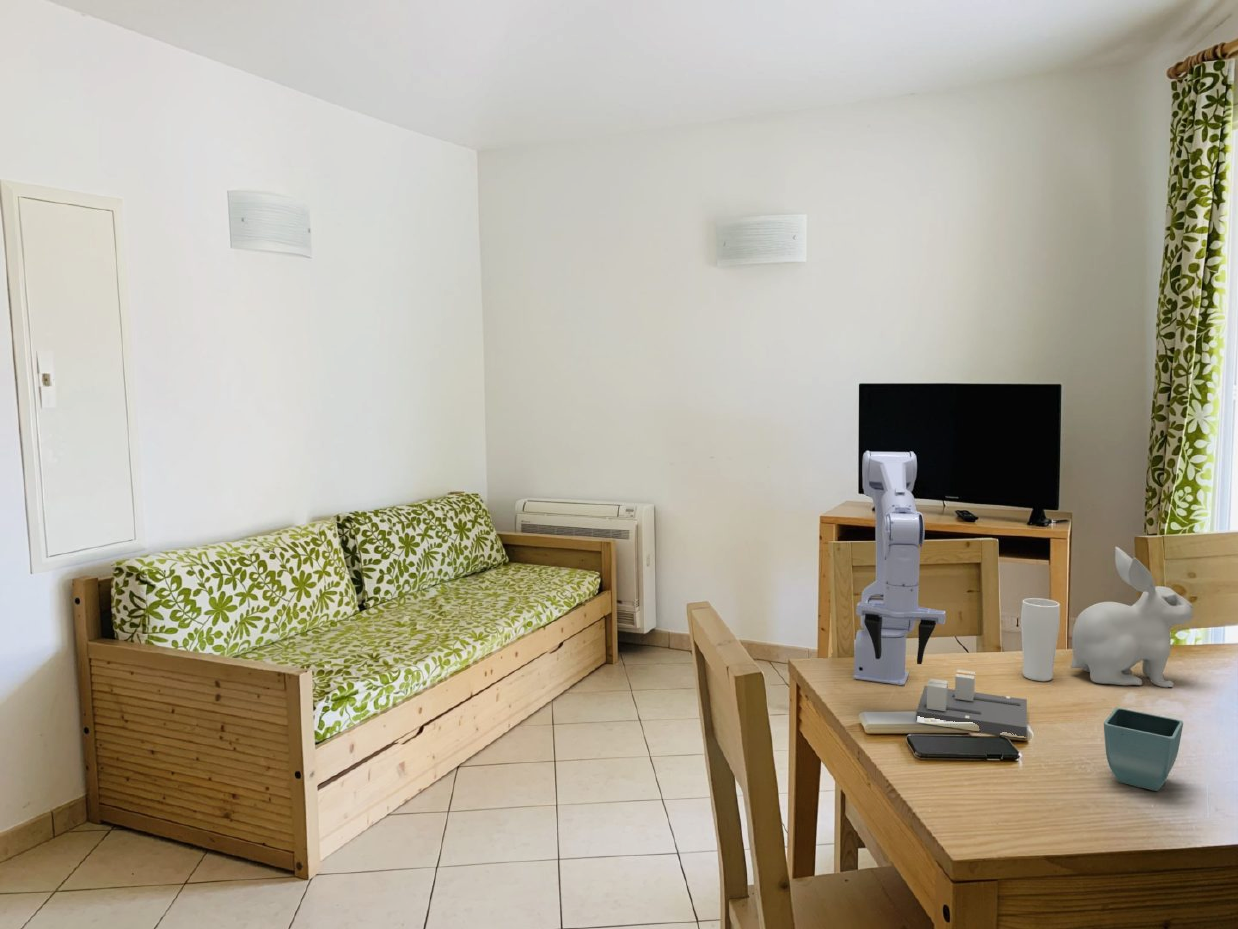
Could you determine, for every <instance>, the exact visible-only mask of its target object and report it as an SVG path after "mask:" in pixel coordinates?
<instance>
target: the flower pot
mask: <svg viewBox="0 0 1238 929" xmlns="http://www.w3.org/2000/svg"><path fill="white" fill-rule="evenodd" d="M1183 726H1184V721H1183V720H1181V719H1176V718H1173V717H1172V718H1171V717H1166V716H1163V715H1161V716H1160V715H1155V714H1151V713H1146V712H1141V711H1138V710H1137V711H1136V710H1132V709H1127V708H1122V707H1115V708H1114V709H1113V710H1112V711H1111V713H1110V714H1109V716H1108V717H1107V718H1106V719H1105V720H1104V722H1103V733H1104V735H1103V736H1104V744H1105V745H1104V746H1105V755H1106V760H1107V763H1108V766H1109V767H1110V768H1109V769H1110V771H1111V772H1112V774H1113V776H1114V777H1115V779H1116V781H1117V782H1118V783H1122V784H1127V785H1129V786H1134V787H1139V788H1141V789H1142V788H1143V789H1146V790H1150V791H1154V792H1158V791H1160V789H1161V788H1162V787H1163V785H1164V784H1165V781H1166V780H1167V778H1168V776H1169V774H1170V772H1171V770H1172V768H1173V767H1174V764H1175V762H1176V760H1177V756H1178V753H1179V750H1180V748H1179V747H1180V743H1181V739H1182V738H1181V737H1182V733H1183Z"/></svg>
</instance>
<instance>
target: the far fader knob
mask: <svg viewBox="0 0 1238 929" xmlns="http://www.w3.org/2000/svg"><path fill="white" fill-rule="evenodd" d="M954 680H955V683H954V690H955V699H960V700H967V701H973V699H974V692H975V684H976V671H969V670H963V669H956V674H955V679H954Z"/></svg>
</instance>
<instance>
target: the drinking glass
mask: <svg viewBox="0 0 1238 929" xmlns="http://www.w3.org/2000/svg"><path fill="white" fill-rule="evenodd" d="M1020 615H1021V616H1020V626H1021V631H1020V632H1021V646H1022V647H1021V648H1022V651H1021V652H1022V675H1023V676H1024V677H1025V678H1026V679H1028V680H1032V681H1035V682H1049V681H1051V680H1052V679H1053V677H1054V668H1055V667H1054V666H1055V660H1056V659H1055V658H1056V651H1057V646H1058V645H1057V644H1058V640H1059V639H1058V637H1059V631H1060V623H1061V622H1060V621H1061V603H1059V602H1058V601H1056V600H1053V599H1047V598H1039V597H1038V598H1037V597H1034V598H1033V597H1031V598H1024V599H1022V602H1021V613H1020Z"/></svg>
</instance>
